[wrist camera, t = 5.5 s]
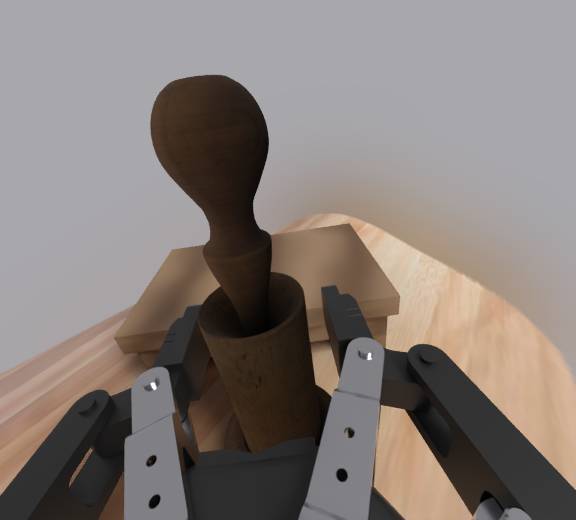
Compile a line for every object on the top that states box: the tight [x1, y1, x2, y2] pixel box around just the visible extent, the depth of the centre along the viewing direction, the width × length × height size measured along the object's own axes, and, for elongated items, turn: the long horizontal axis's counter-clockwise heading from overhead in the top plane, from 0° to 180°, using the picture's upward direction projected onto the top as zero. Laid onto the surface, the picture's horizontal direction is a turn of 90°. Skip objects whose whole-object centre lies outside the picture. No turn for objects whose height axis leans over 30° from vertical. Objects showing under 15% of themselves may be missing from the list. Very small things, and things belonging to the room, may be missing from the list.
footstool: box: [114, 223, 400, 370], centre depth 24 cm, size 18×12×6 cm, turn 94°
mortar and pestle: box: [151, 75, 332, 453], centre depth 11 cm, size 7×6×18 cm
